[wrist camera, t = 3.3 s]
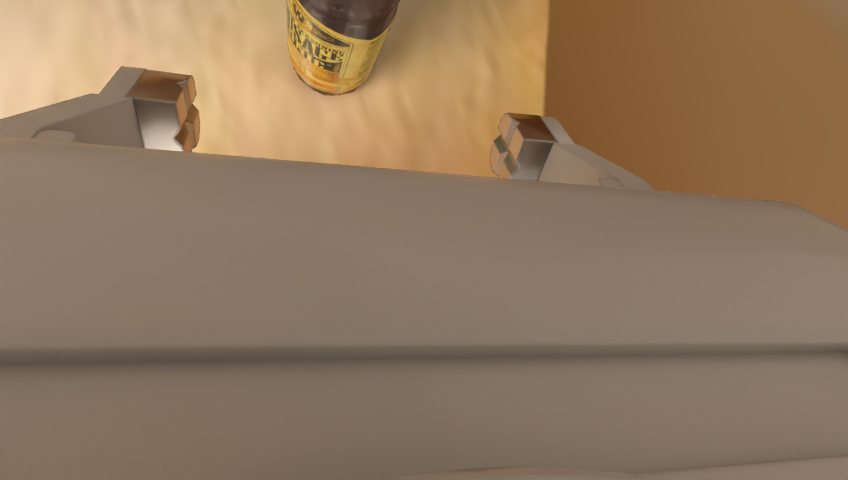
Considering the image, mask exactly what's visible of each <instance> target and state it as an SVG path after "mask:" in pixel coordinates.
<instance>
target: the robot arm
mask: <svg viewBox="0 0 848 480" xmlns="http://www.w3.org/2000/svg"><path fill="white" fill-rule="evenodd" d="M196 94H197V93H196V87H195V81H194V79H193V76H192V75H184V74H177V73H169V72H162V71H155V70H147V69H145V68H135V67H124V66H121V67H120V68H119V70H118V71H117V72H116V73H115V74H114V76H113V77H112V78H111V79H110V81H109V82H108V83H107V84H106V86H105V87H104V88H103V89H102V91H101V92H100V93H99V94H88V95H84V96H81V97H77V98H74V99H70V100H67V101H63V102H60V103H56V104H53V105H49V106H46V107H42V108H39V109H35V110H32V111H28V112H25V113H21V114H18V115H14V116H11V117H7V118H4V119H0V480H848V230H846V229H845V228H843V227H841V226H839V225H837V224H835V223H834V222H832V221H830V220H828V219H826V218H824V217H822V216H820V215H817V214H815V213H813V212H811V211H809V210H807V209H805V208H803V207H800V206H797V205H795V204H792V203H788V202H783V201H775V200H759V199H748V198H735V197H723V196H711V195H699V194H687V193H675V192H663V191H654V190H653V189H652V187H651V186H650V185H649V184H648V183H647V182H646V181H645V180H643V179H641V178H639V177H637V176H636V175H634V174H632V173H630V172H628V171H626V170H625V169H623V168H621V167H619V166H617V165H615V164H613V163H612V162H610V161H608V160H606V159H604V158H603V157H601V156H599V155H597V154H595V153H593V152H592V151H590V150H588V149H586V148H584V147H582V146H581V145H575V144H574V142H573V141H572V140H571V138H570V137H569V136H568V134H567V133H566V131H565V130H564V129H563V127H562V126H561V125H560V123H559V122H558V120H557V119H556V118H553V117H542V116H537V115H526V114H516V113H506V114H504V115H503V117H502V118H501V120H500V123H499V126H498V129H499V131H500V134H501V135H500V136H499V137H498V138H497V139H495V140H494V141H493V145H492V148H491V151H490V166H491V169H492V172H493V173H495V174H496V175H498V178H496V177H484V176H472V175H459V174H447V173H435V172H423V171H411V170H399V169H387V168H375V167H363V166H351V165H339V164H327V163H315V162H303V161H291V160H279V159H267V158H255V157H243V156H231V155H219V154H207V153H195V152H192V149H193V148H195V147H197V144H198V141H199V134H200V118H199V111H198V109H197V108H196V107H195V106H194V105H193V101H194V99H195V97H196Z"/></svg>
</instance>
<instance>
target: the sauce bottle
mask: <svg viewBox="0 0 848 480" xmlns="http://www.w3.org/2000/svg"><path fill="white" fill-rule="evenodd" d="M399 1H400V0H287V26H288V51H289V56H290V59H291V62H292V64H293V68H294V69H295V71H296V73H297V75H298V77H299V79H300V80H302V81H303V83H305V84H306V85H307V86H309V87H310V88H312V89H313V90H315V91H317V92H319V93H321V94H323V95H332V96H334V95H341V94H347V93H350V92H353V91H355V90H356V89H357V88H358V87H359V86H360V85H361V84H362V83H363V82H364V81H365V80H366V79H367V78H368V77H369V74H370V72H371V70H372V68H373V65H374V63H375V61H376V59H377V56H378V54H379V52H380V50H381V47H382V45H383V43H384V40H385V38H386V36H387V33H388V31H389V29H390V26H391V24H392V22H393V19H394V17H395V14H396V11H397V6H398V3H399Z"/></svg>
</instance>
